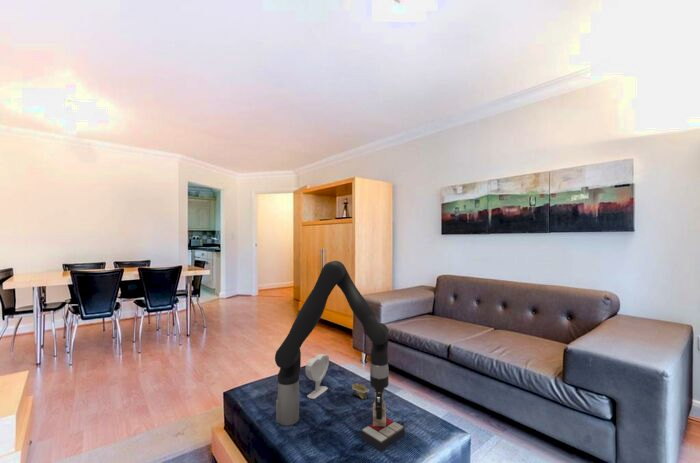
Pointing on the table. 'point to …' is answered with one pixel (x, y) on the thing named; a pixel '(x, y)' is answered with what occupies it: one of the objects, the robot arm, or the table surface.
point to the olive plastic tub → (360, 390)
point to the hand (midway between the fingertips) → (379, 414)
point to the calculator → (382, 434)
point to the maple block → (383, 421)
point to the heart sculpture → (317, 373)
